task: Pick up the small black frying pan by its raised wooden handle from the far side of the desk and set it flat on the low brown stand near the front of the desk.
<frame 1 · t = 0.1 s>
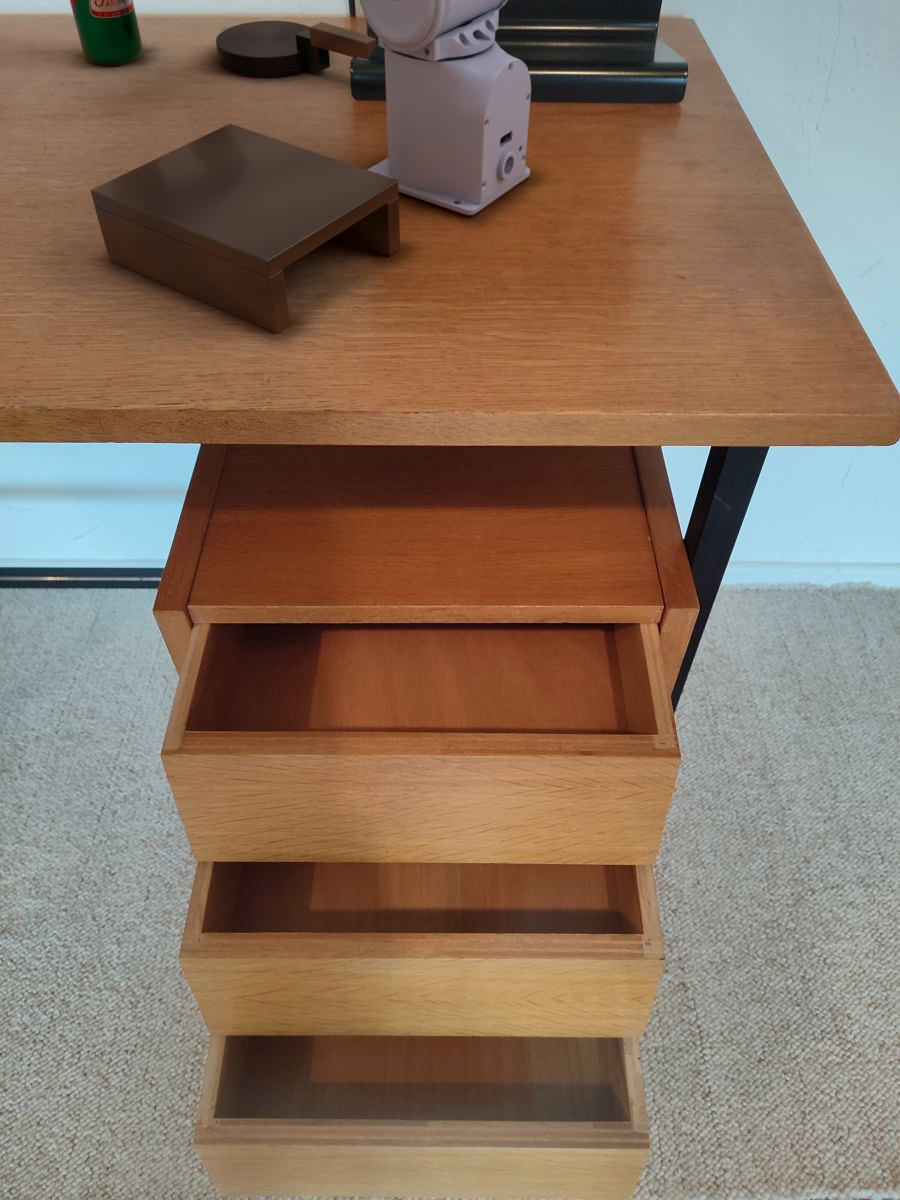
pan: (270, 58, 81), on the table
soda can: (115, 59, 81), on the table
brown stand: (256, 254, 59), on the table
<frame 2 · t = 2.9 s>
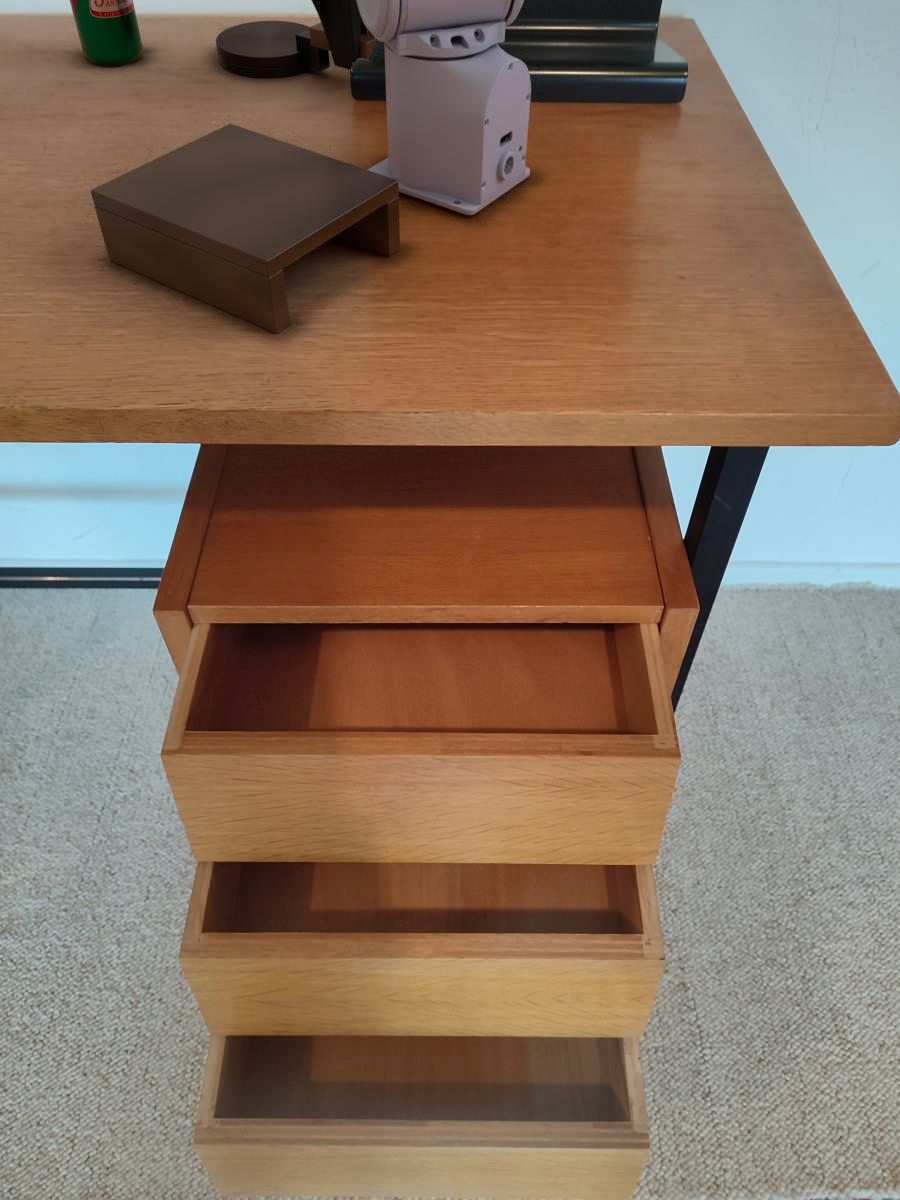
hand: (354, 62, 77), 2 cm above the table, tool pointing down, fingers closed on pan
pan: (270, 58, 81), on the table, touching gripper
everything else where it was.
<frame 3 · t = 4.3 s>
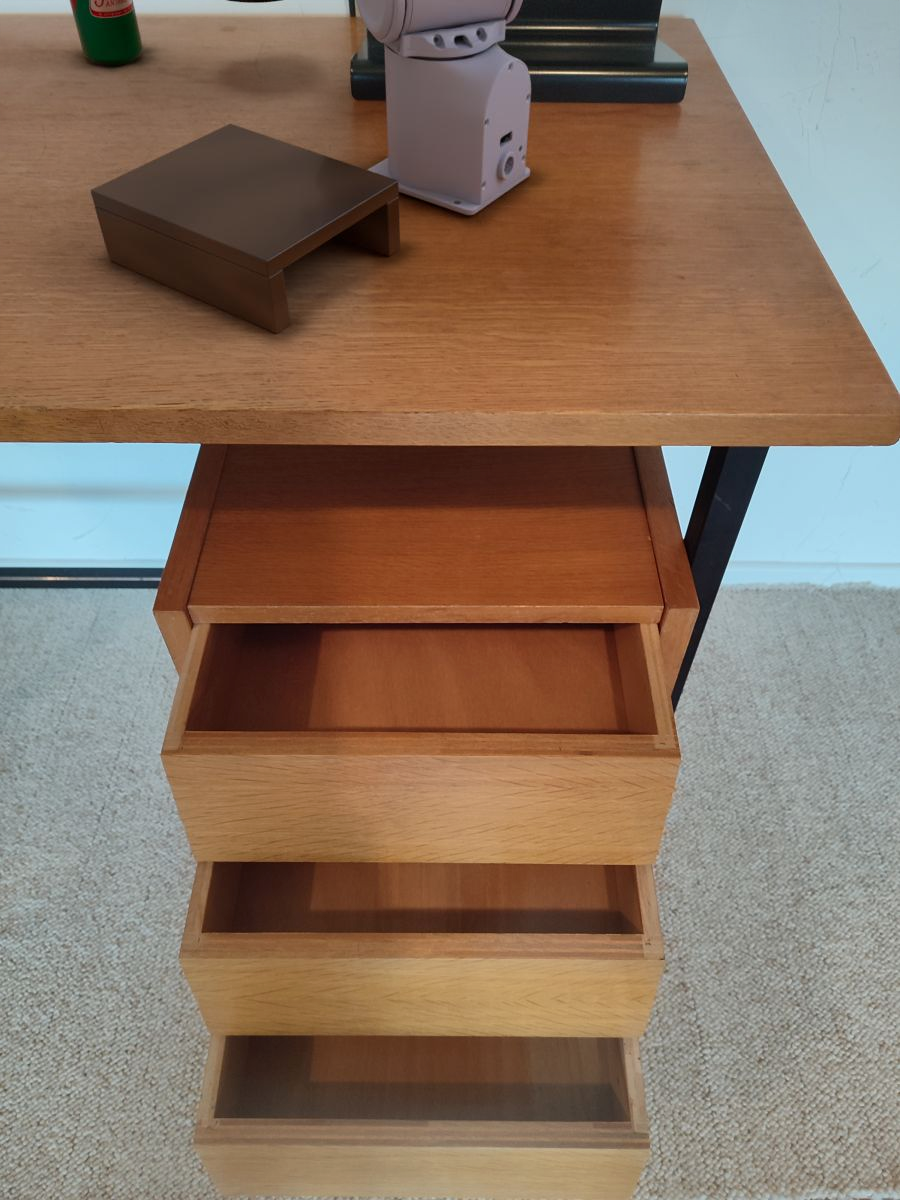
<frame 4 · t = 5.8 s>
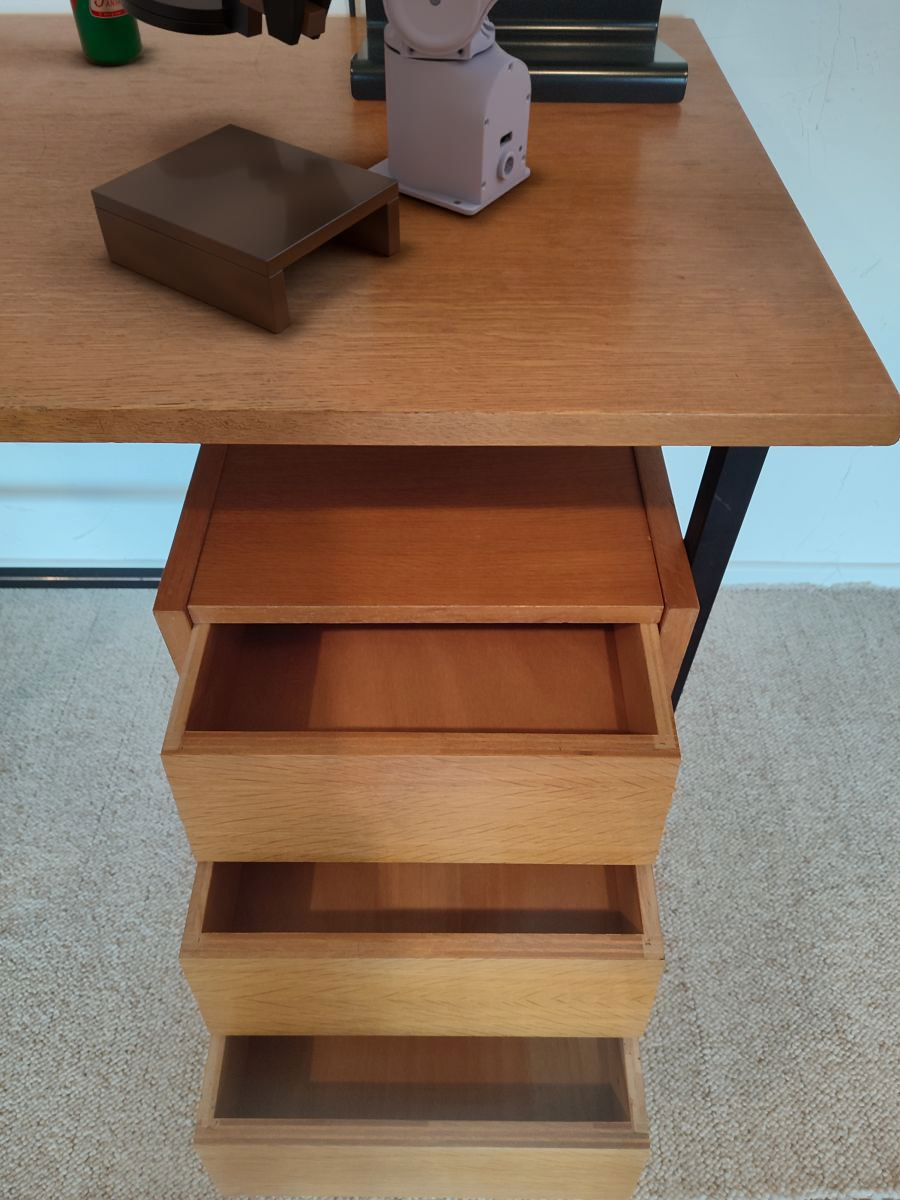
hand: (294, 36, 60), 9 cm above the table, tool pointing down, fingers closed on pan
pan: (188, 8, 64), point 9 cm above the table, tilted 9°, touching gripper
everything else where it was.
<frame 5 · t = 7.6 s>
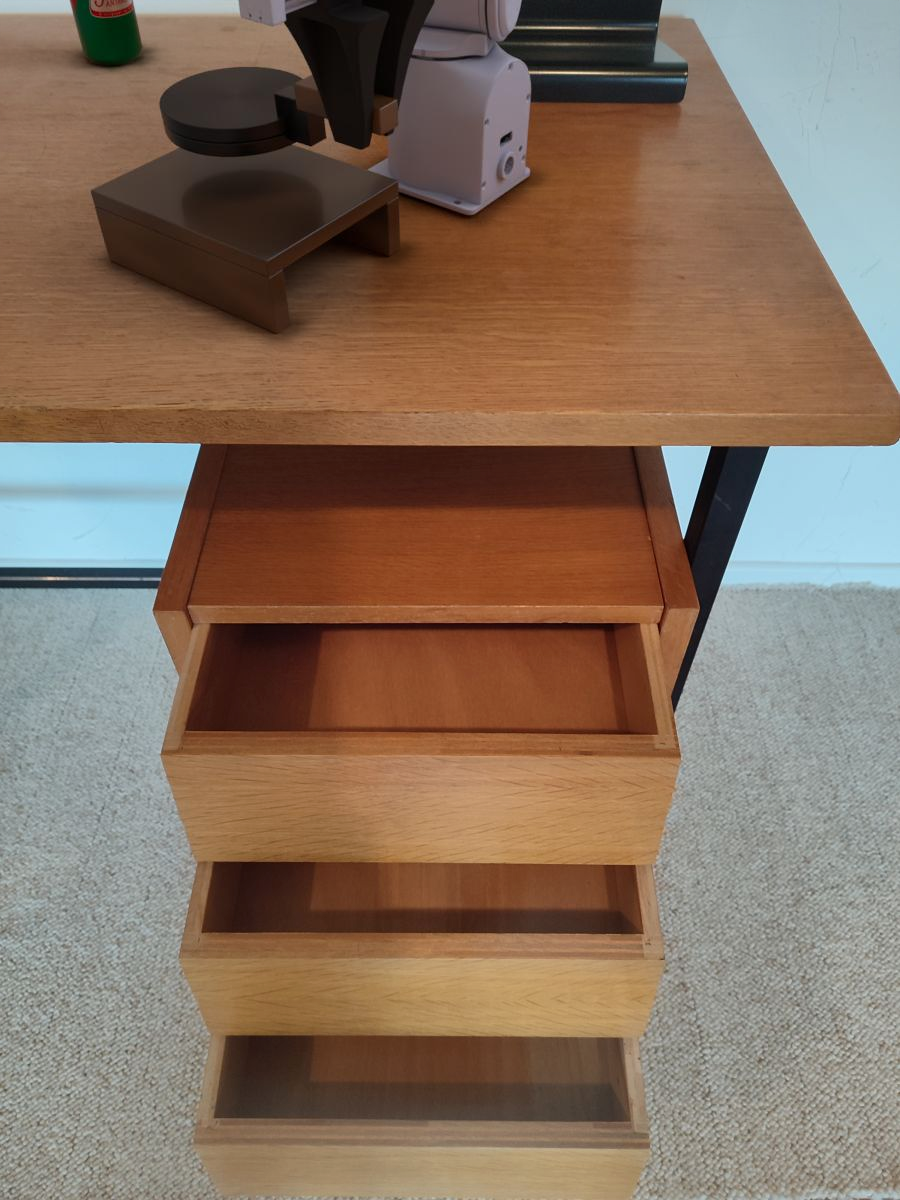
hand: (364, 136, 51), 8 cm above the table, tool pointing down, fingers closed on pan
pan: (241, 124, 56), point 7 cm above the table, touching gripper
everything else where it was.
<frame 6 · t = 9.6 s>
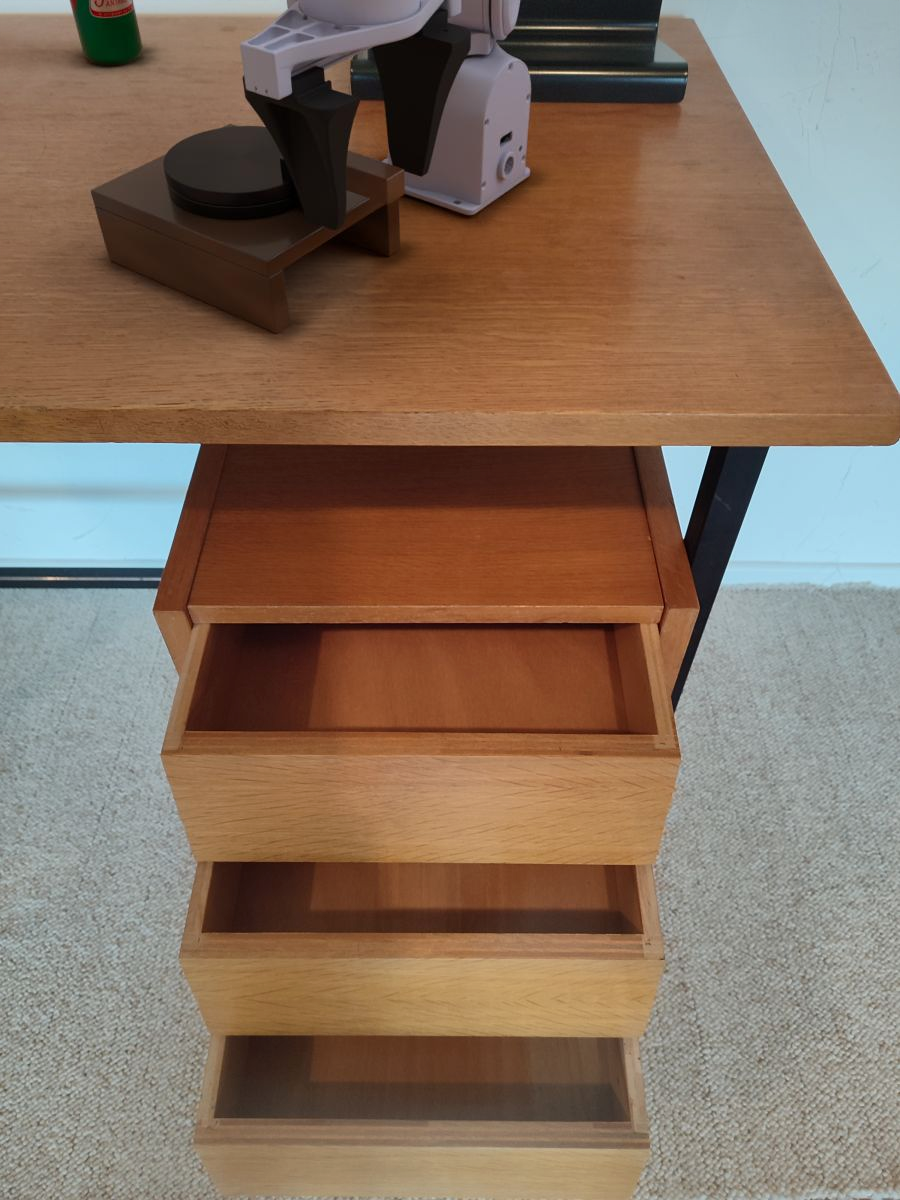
hand: (369, 195, 51), 7 cm above the table, tool pointing down, fingers open, 7 cm apart
pan: (244, 184, 56), point 5 cm above the table, touching brown stand
everything else where it was.
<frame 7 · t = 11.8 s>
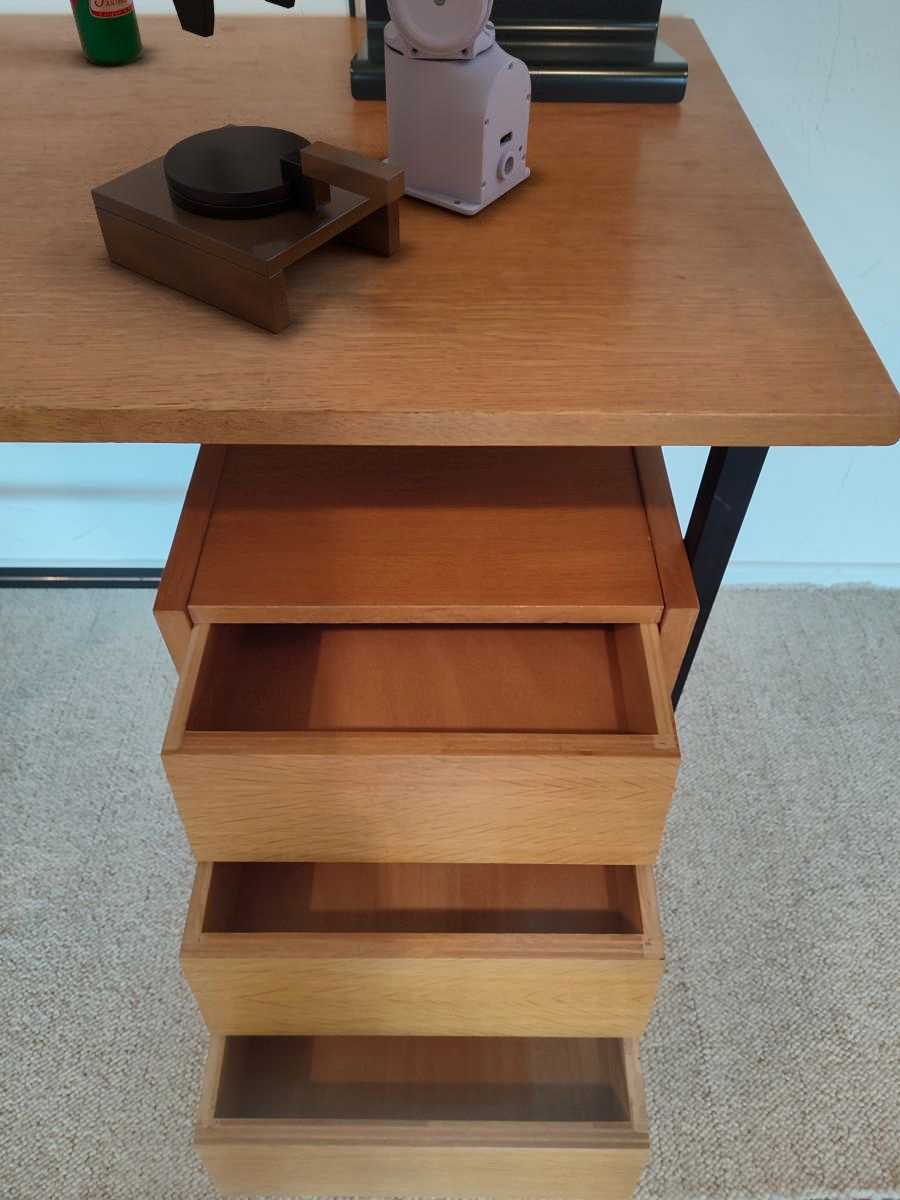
hand: (240, 17, 59), 10 cm above the table, tool pointing down, fingers open, 7 cm apart
nothing on the table moved.
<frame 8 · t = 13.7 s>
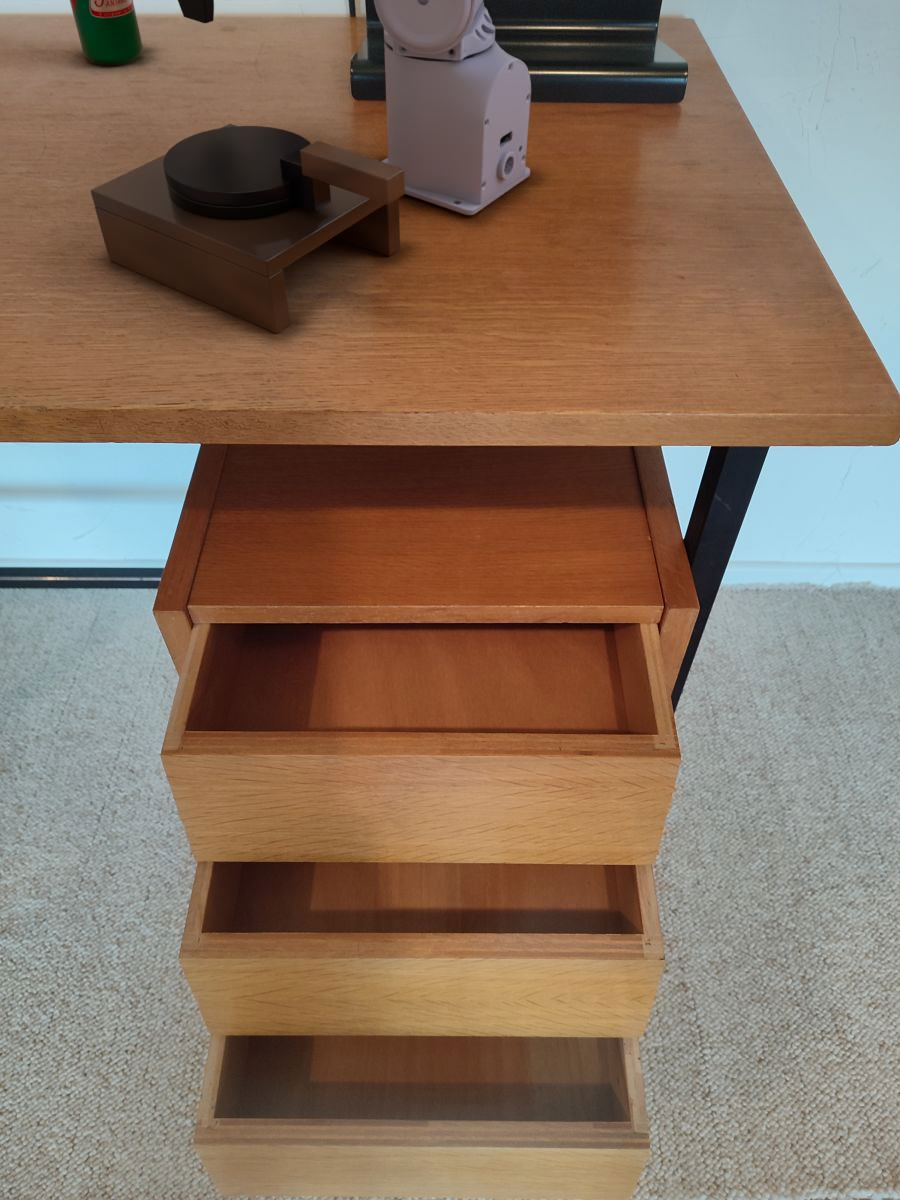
hand: (239, 3, 61), 10 cm above the table, tool pointing down, fingers open, 7 cm apart
nothing on the table moved.
at the end: pan inside the target area on the brown stand (0.1 cm from its centre), point 4.5 cm above the brown stand's base; pan tilted 0° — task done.
